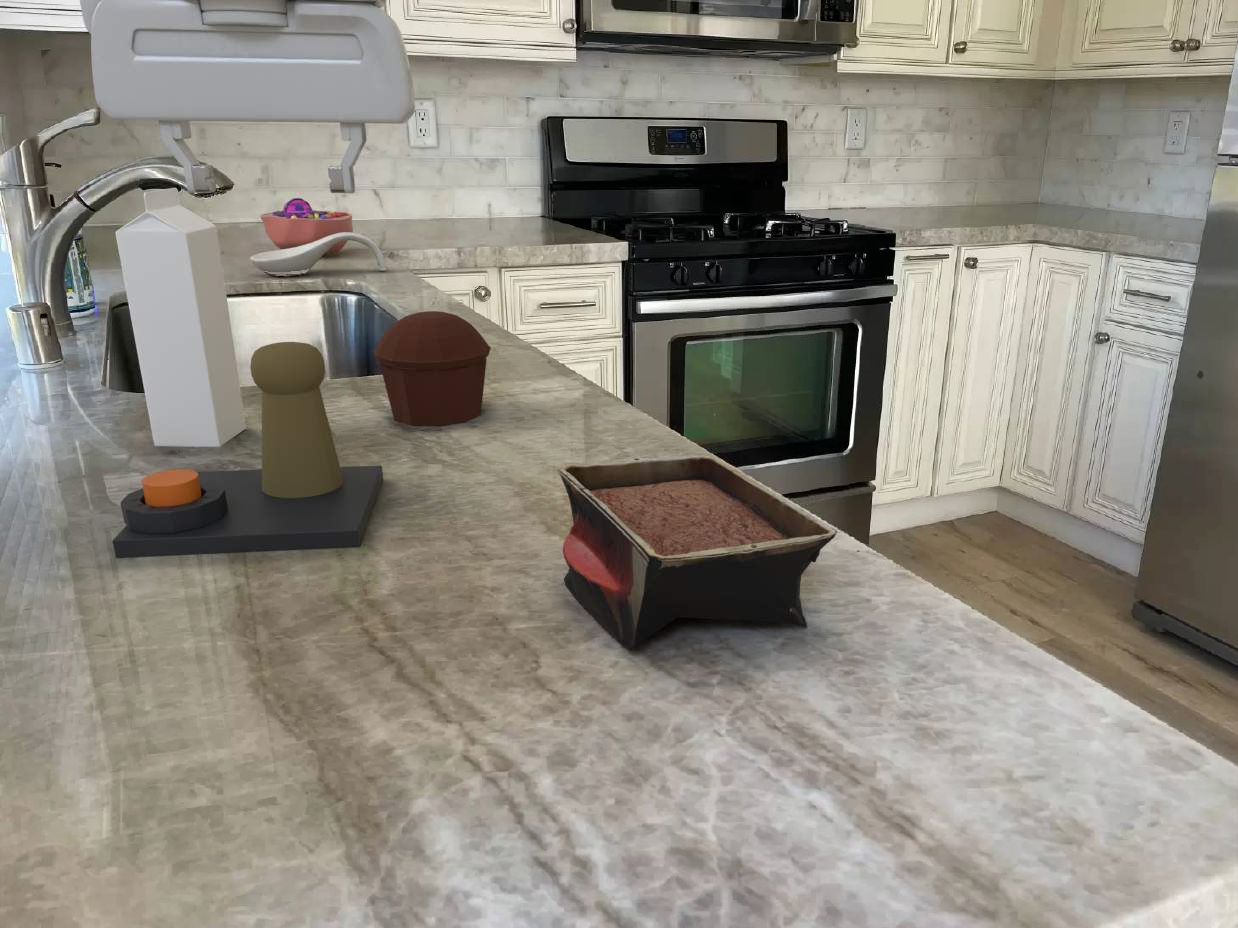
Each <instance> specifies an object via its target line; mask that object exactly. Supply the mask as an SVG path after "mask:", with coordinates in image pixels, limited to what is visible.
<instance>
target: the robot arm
mask: <svg viewBox="0 0 1238 928" xmlns="http://www.w3.org/2000/svg"><path fill="white" fill-rule="evenodd" d="M387 1H388V0H79V4H80V9H81V14H82V20H83V24H84V26H85V29H86V30H87V32H88V33H89V35H90V54H91V58H90V59H91V70H92V71H91V73H92V82H93V83H92V84H93V91H94V96H95V102H96V104H97V106H98V107H99V108H100V109H101V110H102V111H103V113H104V114H105V115H106V116H107V117H109V118H110V120H114V121H145V122H146V121H151V122H152V121H153V122H154V121H155V122H156V121H157V122H158V128H159V134H160V140H161V141H162V142H163V144H164V145H165V147H166V148H167V149H168V151H169V152H170V153H171V154H172V156H173V157H174V159H176V161H177V163H178V164H179V165H180V166H181V167H183V174H184V180H185V186H186V190H187V192H188V193H189V194H211V193H215V192H216V190H217V185H216V181H215V180H214V176H215V171H214V164H201V163H200V161H199V160H198V158H197V156H196V155H195V154H194V153H193V151H192V149H191V148H190V147H189V145H188V144H187V142H186V141H185V139H186V140H187V139H191V138H192V137H193V136H192V131H191V122H233V123H234V122H242V123H243V122H244V123H245V122H248V123H319V124H320V123H323V124H326V123H327V124H329V123H330V124H338V123H339V124H340V125H339V126H340V136H341V137H340V138H341V140H343V141H346V142H349V141H350V142H349V144H348V146H347V149H346V151H345V154H343V155H344V156H343V158H342V160H341V162H340V164H339V165H330V166H327V173H328V175H327V176H328V178H329V180H331V181H330V182H329V191H330V193H331V194H354V193H355V192H356V184H355V173H354V167H355V166H356V164H357V162H358V159H359V158H360V156H361V153H362V151H363V149H364V147H365V145H366V143H367V132H366V131H367V130H366V129H367V128H366V124H394V125H395V124H401V125H402V124H406V123H408V122H409V121H410V119H411V118H412V117H413V115H414V114H415V112H416V98H415V92H414V91H415V90H414V89H415V88H414V83H413V77H412V71H411V66H410V61H409V56H408V53H407V47H406V44H405V40H404V36H403V34H402V31H401V29H400V27H399V26H398V24H397V23H396V21H395V20H394V18H393V17H391V16H390V15H389V14H388V13H387V12H386V11H385V10H383V9H381V8H383V7H385V5H386V3H387Z"/></svg>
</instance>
